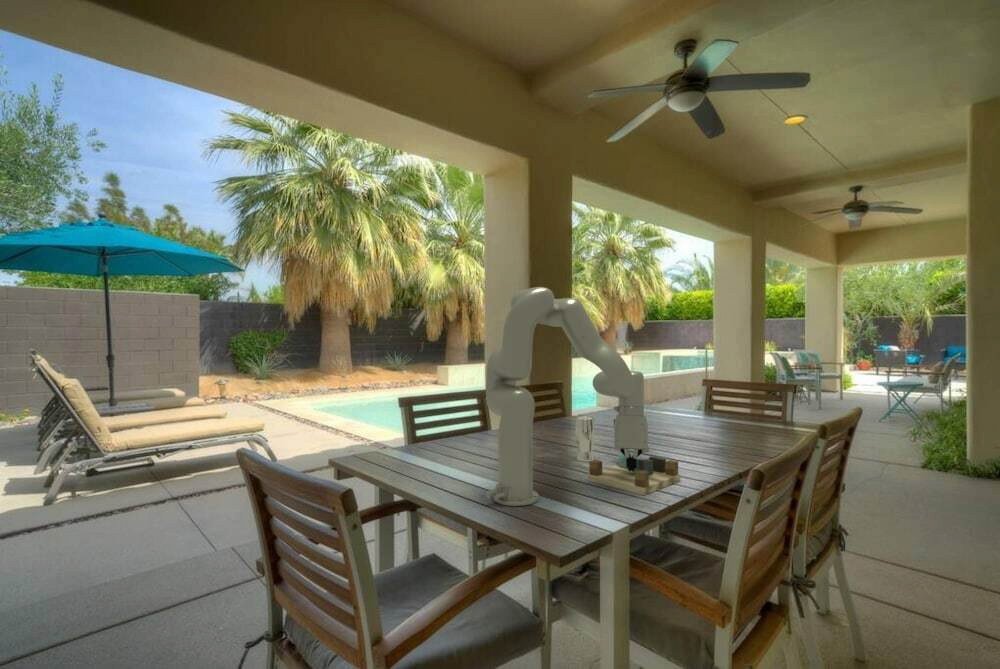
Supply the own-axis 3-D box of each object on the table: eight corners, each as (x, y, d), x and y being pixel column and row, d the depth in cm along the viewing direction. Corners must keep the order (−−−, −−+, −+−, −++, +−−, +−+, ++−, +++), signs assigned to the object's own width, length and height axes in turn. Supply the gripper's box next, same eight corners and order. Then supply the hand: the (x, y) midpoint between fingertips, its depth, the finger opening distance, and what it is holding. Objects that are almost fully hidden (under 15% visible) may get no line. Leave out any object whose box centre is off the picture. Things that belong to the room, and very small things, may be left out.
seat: (644, 495, 144) (643, 474, 144) (587, 480, 159) (587, 461, 159) (680, 481, 157) (680, 461, 157) (625, 468, 172) (625, 450, 172)
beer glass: (593, 462, 180) (593, 420, 180) (574, 461, 183) (573, 419, 183) (596, 457, 187) (596, 416, 187) (577, 456, 189) (577, 416, 189)
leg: (654, 473, 157) (654, 458, 157) (642, 475, 156) (642, 460, 156) (627, 463, 170) (627, 449, 170) (616, 464, 168) (616, 450, 168)
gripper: (605, 411, 157) (605, 471, 157) (656, 414, 152) (656, 475, 152) (608, 408, 164) (608, 465, 164) (656, 410, 159) (656, 469, 160)
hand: (631, 470), depth 158 cm, fingers closed
